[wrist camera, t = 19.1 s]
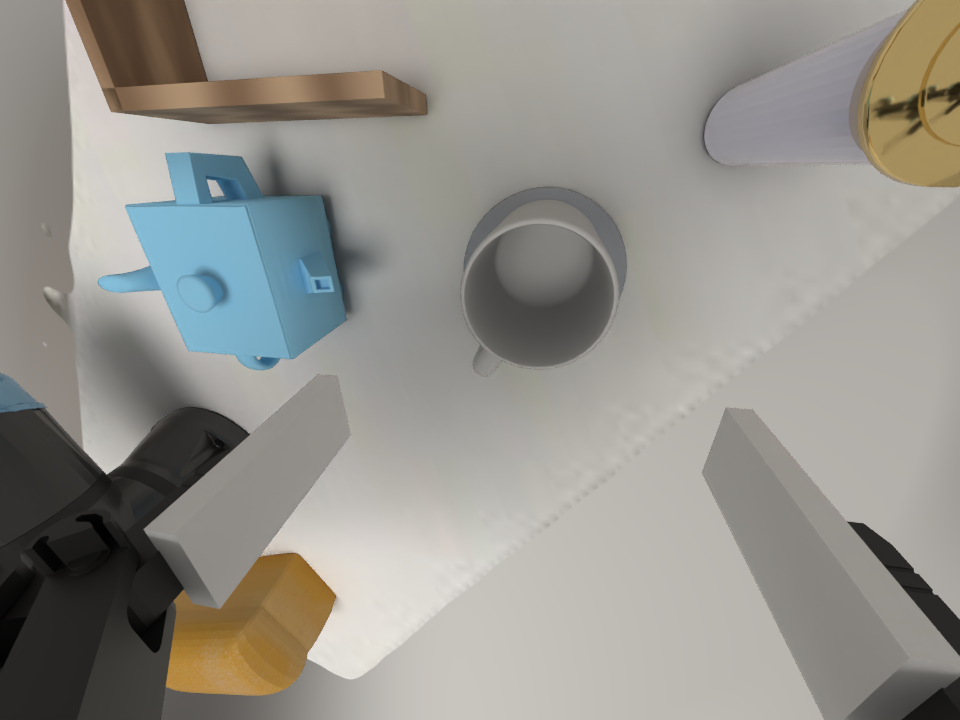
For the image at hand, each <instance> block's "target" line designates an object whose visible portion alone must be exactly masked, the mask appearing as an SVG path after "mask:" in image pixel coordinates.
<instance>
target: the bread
mask: <svg viewBox="0 0 960 720" xmlns="http://www.w3.org/2000/svg"><path fill="white" fill-rule="evenodd" d="M335 598H336V595H335V594H334V592H333V591H332V590H331V589H330V588H329V587H328V586H327V585H326V583H325V582H324V581H323V580H322V579H321V578H320V577H319V576H318V575H317V573H316V572H315V571H314V570H313V569H312V568H311V567H310V566H309V565H308V563H307V562H306V561H305V560H304V559H303V558H302V557H301V556H300V555H298V554H296V553H285V554H276V555H269V556H262V557H259V558H258V559H257V560H256V562H255V563H254V564H253V566H252V567H251V568H250V570H249V571H248V572H247V574H246V575H245V576H244V578H243V579H242V580H241V582H240V583H239V584H238V586H237V587H236V588H235V590H234V591H233V592H232V594H231V595H230V596H229V598H228V599H227V600H226V602H225V603H224V604H223V606H222V607H221V608H220V609H217V608H213V607H208V606H203V605H198V604H193V603H192V601H191V600H190V598H189V597H188V595H187V594H186V592H185V591H184V589H183V591H182V592H181V593H180V594H179V595H178V596H177V598H176V599H175V600H174V603H175V605H176V619H175V626H174V633H173V640H172V647H171V653H170V660H169V667H168V674H167V681H166V687H168V688H171V689H174V690H177V691H183V692H196V693H214V694H215V693H216V694H234V695H268V694H272V693H276V692H279V691H281V690H283V689H285V688H287V687H289V686H290V685H291V684H292V683H293V682H294V681H295V680H297V678H298V677H299V675H300V674H301V672H302V670H303V668H304V665H305V662H306V659H307V654H308V651H309V650H310V649H311V648H312V646H313V645H314V643H315V641H316V640H317V638H318V636H319V634H320V633H321V631H322V629H323V627H324V625H325V623H326V621H327V619H328V617H329V615H330V613H331V611H332V607H333V604H334V601H335Z"/></svg>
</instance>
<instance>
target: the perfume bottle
mask: <svg viewBox="0 0 960 720" xmlns="http://www.w3.org/2000/svg"><path fill="white" fill-rule="evenodd" d="M704 139H705V145H706V148H707V151H708V153H709V154H710V156H711V157H712V158H713V159H714V160H716V161H717V162H719V163H721V164H724V165H728V166H763V165H873V166H874V167H875V168H876V169H877V170H878V171H879V172H880V173H881V174H883V175H885V176H887V177H889V178H891V179H892V180H894V181H896V182H900V183H905V184H909V185H913V186H925V187H959V186H960V0H917V1H916V2H915V3H914V4H913V5H912V6H911V7H910V8H909V9H907V10H904V11H902V12H900V13H898V14H895V15H893V16H891V17H889V18H887V19H884V20H882V21H880V22H878V23H875V24H873V25H871V26H869V27H867V28H864V29H862V30H860V31H858V32H855V33H853V34H851V35H849V36H847V37H844V38H842V39H840V40H838V41H835V42H833V43H831V44H829V45H827V46H824V47H822V48H820V49H818V50H815V51H813V52H811V53H809V54H807V55H804V56H802V57H800V58H798V59H795V60H793V61H791V62H789V63H787V64H784V65H782V66H780V67H778V68H775V69H773V70H771V71H769V72H767V73H764V74H762V75H760V76H758V77H755V78H753V79H751V80H749V81H747V82H744V83H742V84H740V85H738V86H736V87H734V88H733V89H731V90H730V91H729V92H727V93H726V94H725V95H724V96H723V97H722V98H721V99H720V100H719V101H718V102H717V104H716V105H715V106H714V108H713V110H712V111H711V113H710V115H709V117H708V120H707V123H706V127H705V134H704Z"/></svg>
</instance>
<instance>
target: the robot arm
mask: <svg viewBox="0 0 960 720" xmlns="http://www.w3.org/2000/svg"><path fill="white" fill-rule="evenodd" d="M45 408H46V406H45V405H44V404H43V403H39V402H37V401H36V400H35V399H34V398H33V397H32V396H31V395H30V394H28V393H27V392H26V391H25V390H24V389H23V388H22V387H21V386H20V385H19V384H18V383H17V382H16V381H15V380H14V379H12V378H11V377H9V376H7V375H5V374H1V373H0V720H161V715H162V708H163V701H164V695H165V688H166V681H167V674H168V667H169V660H170V653H171V647H172V640H173V633H174V626H175V619H176V605H175V603H174V600H175V599H176V598H177V596H178V595H179V594H180V593H181V592H182V591H183V589H184V591H185V592H186V594H187V595H188V597H189V598H190V600H191V601H192V603H193V604H198V605H203V606H208V607H213V608H217V609H220V608H221V607H222V606H223V604H224V603H225V602H226V600H227V599H228V598H229V596H230V595H231V594H232V592H233V591H234V590H235V588H236V587H237V586H238V584H239V583H240V582H241V580H242V579H243V578H244V576H245V575H246V574H247V572H248V571H249V570H250V568H251V567H252V566H253V564H254V563H255V562H256V560H257V559H258V558H259V556H260V555H261V554H262V552H263V551H264V550H265V548H266V547H267V546H268V544H269V543H270V542H271V540H272V539H273V538H274V536H275V535H276V534H277V532H278V531H279V530H280V528H281V527H282V526H283V524H284V523H285V522H286V520H287V519H288V518H289V516H290V515H291V514H292V512H293V511H294V510H295V508H296V507H297V506H298V504H299V503H300V502H301V500H302V499H303V498H304V496H305V495H306V494H307V492H308V491H309V490H310V488H311V487H312V486H313V484H314V483H315V482H316V480H317V479H318V478H319V476H320V475H321V474H322V472H323V471H324V470H325V468H326V467H327V466H328V464H329V463H330V462H331V460H332V459H333V458H334V456H335V455H336V454H337V452H338V451H339V450H340V448H341V447H342V446H343V444H344V443H345V442H346V440H347V439H348V438H349V436H350V435H351V434H350V430H349V425H348V421H347V416H346V412H345V408H344V403H343V399H342V395H341V390H340V386H339V381H338V377H337V376H332V375H319V374H318V375H317V376H316V377H315V378H314V379H313V380H311V381H310V382H309V383H308V384H307V385H306V386H305V387H304V388H302V389H301V390H300V391H299V392H298V393H297V394H296V395H294V396H293V397H292V398H291V399H290V400H289V401H288V402H287V403H285V404H284V405H283V406H282V407H281V408H280V409H279V410H278V411H276V412H275V413H274V414H273V415H272V416H271V417H270V418H269V419H267V420H266V421H265V422H264V423H263V424H262V425H261V426H259V427H258V428H257V429H256V430H255V431H254V432H253V433H252V434H250V435H248V434H246V433H245V432H244V431H243V430H242V429H241V428H239V427H238V426H237V425H235V424H234V423H232V422H231V421H229V420H228V419H226V418H224V417H222V416H220V415H218V414H216V413H213V412H210V411H207V410H204V409H199V408H182V409H178V410H176V411H174V412H172V413H171V414H169V415H168V416H166V417H165V418H163V419H161V420H160V421H159V422H157V423H156V424H155V425H154V426H153V427H152V429H151V431H150V432H149V433H148V435H147V436H146V437H145V438H144V439H143V440H142V441H141V442H140V444H139V445H138V446H137V447H136V448H135V449H134V451H133V452H132V453H131V454H130V455H129V457H128V458H127V459H126V460H125V461H124V463H122V464H121V465H120V466H119V467H117V468H116V469H114V470H113V471H112V472H110V473H109V474H107V475H106V474H105V473H104V472H103V471H102V469H101V468H100V467H99V466H98V465H97V464H96V463H95V462H94V461H93V460H92V459H91V458H90V457H89V456H88V454H87V453H86V452H85V451H84V450H83V449H82V448H81V447H80V446H79V445H78V444H77V443H76V442H75V441H74V440H73V439H72V438H71V437H70V436H69V434H68V433H67V432H66V431H65V430H64V429H63V428H62V427H61V426H60V425H59V423H58V422H57V421H56V420H55V419H54V418H53V417H52V416H51V415H50V414H49V412H47V410H46V409H45ZM702 474H703V476H704V478H705V480H706V482H707V484H708V486H709V488H710V490H711V492H712V494H713V496H714V498H715V500H716V502H717V504H718V506H719V508H720V510H721V512H722V515H723V517H724V518H725V520H726V523H727V525H728V527H729V529H730V531H731V532H732V535H733V536H734V539H735V541H736V543H737V545H738V547H739V549H740V551H741V553H742V555H743V557H744V559H745V561H746V563H747V565H748V567H749V569H750V571H751V573H752V575H753V577H754V579H755V581H756V583H757V585H758V587H759V589H760V591H761V593H762V595H763V597H764V599H765V601H766V603H767V605H768V607H769V609H770V611H771V613H772V615H773V617H774V619H775V621H776V623H777V625H778V627H779V629H780V631H781V633H782V635H783V637H784V639H785V641H786V643H787V646H788V647H789V650H790V651H791V654H792V656H793V658H794V659H795V662H796V664H797V666H798V668H799V670H800V672H801V674H802V676H803V678H804V680H805V682H806V684H807V686H808V688H809V690H810V692H811V694H812V695H813V698H814V700H815V702H816V704H817V706H818V708H819V710H820V712H821V714H822V716H823V718H824V720H960V619H958V617H957V616H956V615H955V614H954V613H953V612H952V611H951V609H950V608H949V607H948V606H947V605H946V604H945V603H944V602H943V601H942V600H941V598H940V597H939V596H938V595H934V594H933V592H932V589H931V588H930V586H929V585H928V584H927V583H926V582H925V581H924V580H923V579H922V578H921V577H920V575H919V574H915V573H914V569H913V568H912V566H911V565H910V564H909V563H908V562H907V561H906V560H905V559H904V558H903V557H902V556H901V554H900V553H899V552H898V551H897V550H896V549H895V548H894V547H893V545H891V544H890V543H889V542H887V541H886V540H885V539H883V538H882V537H881V536H879V535H878V534H877V533H875V532H874V531H873V530H871V529H870V528H869V527H867V526H866V525H865V524H863V523H855V522H847V521H846V520H845V519H844V518H843V516H842V515H841V514H840V513H839V512H838V510H837V509H836V508H835V507H834V506H833V505H832V503H831V502H830V501H829V500H828V499H827V498H826V496H825V495H824V494H823V493H822V492H821V490H820V489H819V488H818V487H817V485H816V484H815V483H814V482H813V481H812V479H811V478H810V477H809V476H808V475H807V473H805V471H804V470H803V469H802V468H801V466H800V465H799V464H798V463H797V462H796V460H795V459H794V458H793V457H792V456H791V455H790V453H789V452H788V451H787V450H786V448H785V447H784V446H783V445H782V444H781V442H780V441H779V440H778V439H777V438H776V437H775V435H774V434H773V433H772V432H771V431H770V429H769V428H768V427H767V426H766V425H765V423H764V422H763V421H762V420H761V419H760V418H759V416H758V415H757V414H756V413H755V411H754V410H750V409H739V408H727V407H726V408H725V411H724V414H723V417H722V419H721V422H720V425H719V428H718V430H717V433H716V436H715V438H714V441H713V444H712V446H711V449H710V452H709V455H708V457H707V460H706V463H705V465H704V468H703V471H702Z"/></svg>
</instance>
